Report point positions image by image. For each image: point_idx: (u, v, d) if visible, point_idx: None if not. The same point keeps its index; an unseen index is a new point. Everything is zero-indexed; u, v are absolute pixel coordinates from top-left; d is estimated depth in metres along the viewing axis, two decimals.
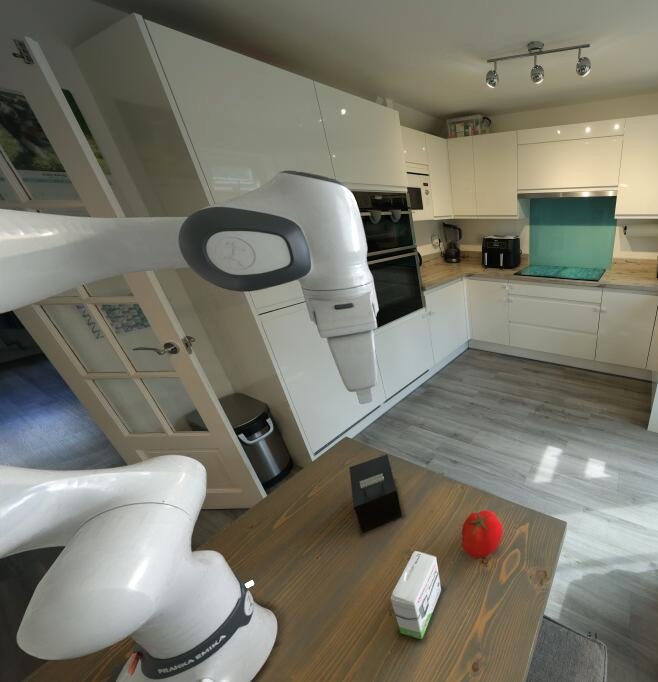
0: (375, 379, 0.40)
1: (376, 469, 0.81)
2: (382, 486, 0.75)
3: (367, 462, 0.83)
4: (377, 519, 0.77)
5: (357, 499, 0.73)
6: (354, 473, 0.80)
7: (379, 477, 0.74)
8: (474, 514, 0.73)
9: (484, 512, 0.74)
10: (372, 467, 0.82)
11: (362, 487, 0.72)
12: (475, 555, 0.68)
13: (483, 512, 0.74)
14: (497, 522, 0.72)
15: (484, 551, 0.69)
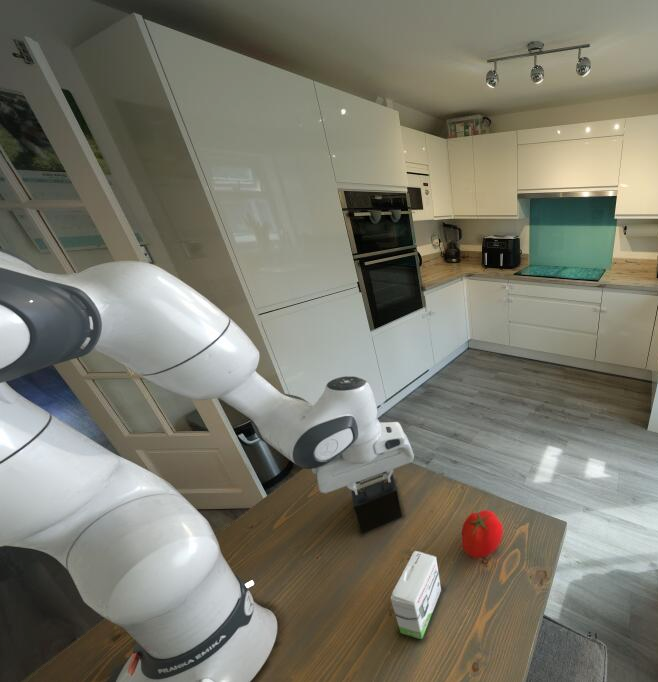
0: None
1: None
2: (382, 486, 0.75)
3: None
4: (377, 519, 0.77)
5: (357, 499, 0.73)
6: None
7: (379, 477, 0.74)
8: (474, 514, 0.73)
9: (484, 512, 0.74)
10: None
11: (362, 487, 0.72)
12: (475, 555, 0.68)
13: (483, 512, 0.74)
14: (497, 522, 0.72)
15: (484, 551, 0.69)
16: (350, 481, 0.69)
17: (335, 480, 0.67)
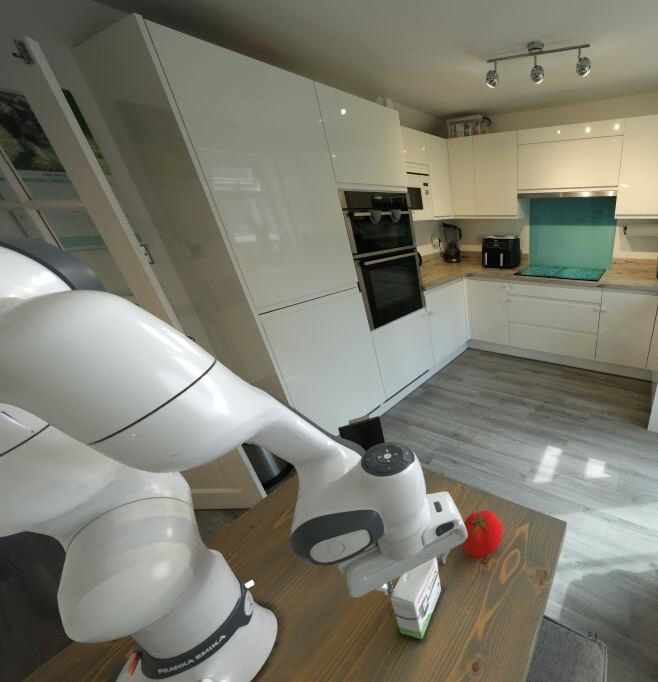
0: None
1: None
2: None
3: None
4: None
5: None
6: None
7: None
8: (474, 514, 0.73)
9: (484, 512, 0.74)
10: None
11: (349, 420, 0.81)
12: (475, 555, 0.68)
13: (483, 512, 0.74)
14: (497, 522, 0.72)
15: (484, 551, 0.69)
16: (389, 578, 0.52)
17: (370, 580, 0.50)
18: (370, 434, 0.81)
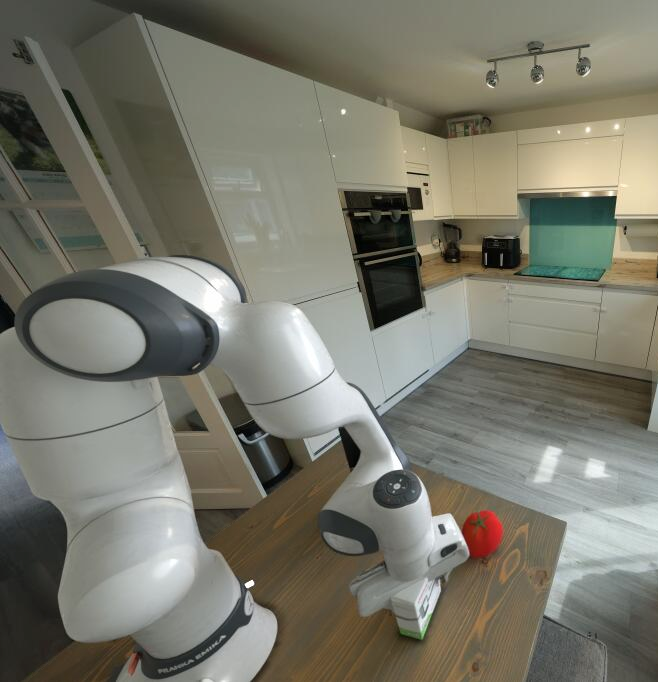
0: None
1: None
2: None
3: None
4: None
5: None
6: None
7: None
8: (474, 514, 0.73)
9: (484, 512, 0.74)
10: None
11: None
12: (475, 555, 0.68)
13: (483, 512, 0.74)
14: (497, 522, 0.72)
15: (484, 551, 0.69)
16: None
17: (379, 600, 0.53)
18: None
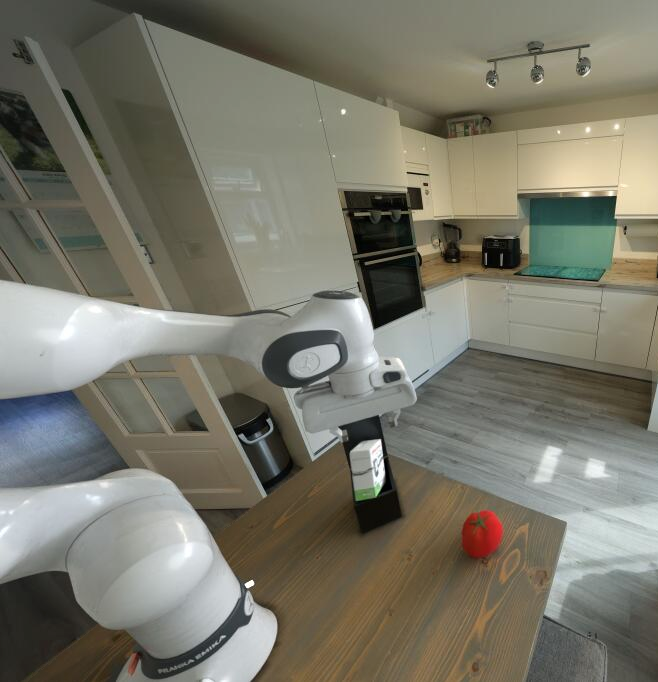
0: None
1: None
2: None
3: None
4: (377, 519, 0.77)
5: None
6: None
7: None
8: (474, 514, 0.73)
9: (484, 512, 0.74)
10: None
11: None
12: (475, 555, 0.68)
13: (483, 512, 0.74)
14: (497, 522, 0.72)
15: (484, 551, 0.69)
16: (342, 421, 0.59)
17: (323, 417, 0.57)
18: (370, 432, 0.81)
